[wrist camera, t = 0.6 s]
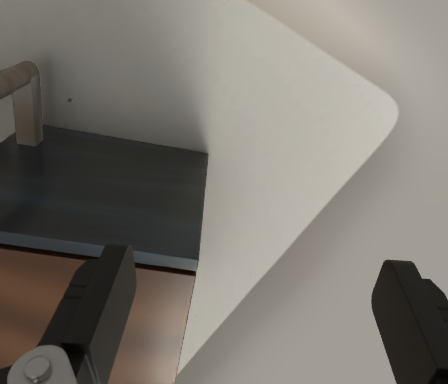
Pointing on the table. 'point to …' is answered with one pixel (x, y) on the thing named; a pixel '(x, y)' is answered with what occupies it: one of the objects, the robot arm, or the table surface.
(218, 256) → the table surface
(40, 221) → the door
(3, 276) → the cupboard
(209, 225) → the table surface
